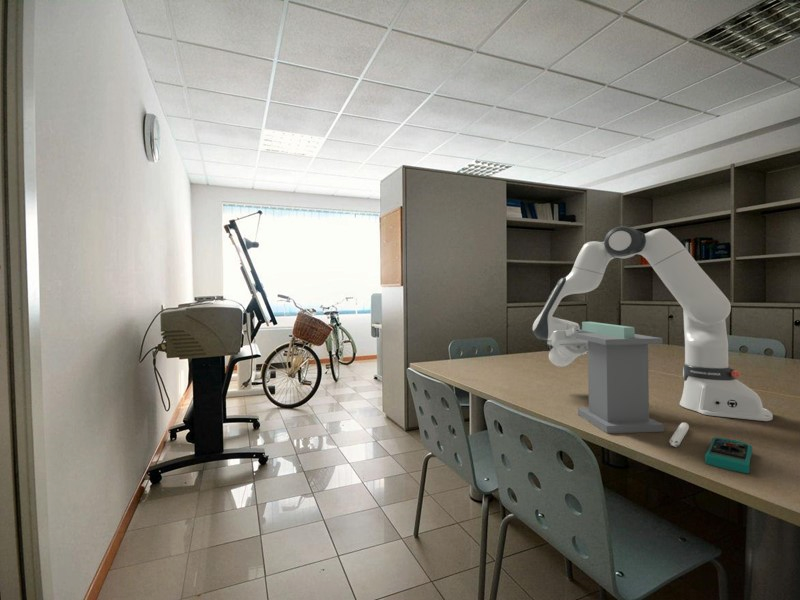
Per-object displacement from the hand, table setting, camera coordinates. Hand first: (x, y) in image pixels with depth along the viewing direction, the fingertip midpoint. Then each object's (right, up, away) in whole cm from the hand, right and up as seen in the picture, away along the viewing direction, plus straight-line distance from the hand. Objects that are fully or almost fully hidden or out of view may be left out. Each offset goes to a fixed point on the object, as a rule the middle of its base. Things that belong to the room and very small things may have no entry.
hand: (589, 328), depth 125 cm
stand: (+1, -27, -15) cm, 31 cm away
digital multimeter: (+12, -28, -39) cm, 50 cm away
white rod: (+10, -28, -27) cm, 40 cm away
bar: (0, -1, -9) cm, 9 cm away
